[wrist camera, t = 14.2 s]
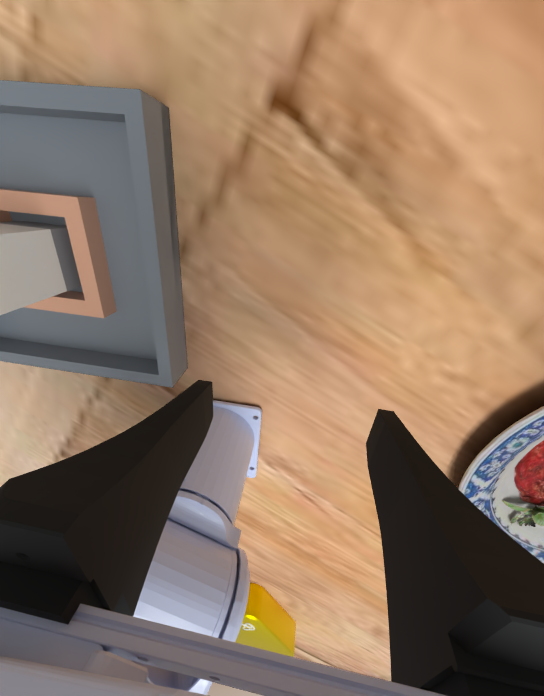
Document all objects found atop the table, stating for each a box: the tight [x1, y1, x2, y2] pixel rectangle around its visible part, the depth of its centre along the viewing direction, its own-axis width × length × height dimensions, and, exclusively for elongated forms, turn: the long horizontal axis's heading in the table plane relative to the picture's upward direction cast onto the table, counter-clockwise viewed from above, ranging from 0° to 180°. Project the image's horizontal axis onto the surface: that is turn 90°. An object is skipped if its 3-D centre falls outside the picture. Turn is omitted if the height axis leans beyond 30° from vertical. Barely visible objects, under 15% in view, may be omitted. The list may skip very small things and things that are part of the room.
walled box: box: [0, 80, 188, 388], centre depth 20 cm, size 18×18×3 cm
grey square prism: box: [0, 221, 81, 315], centre depth 17 cm, size 4×4×8 cm
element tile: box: [235, 583, 296, 657], centre depth 45 cm, size 15×15×5 cm
